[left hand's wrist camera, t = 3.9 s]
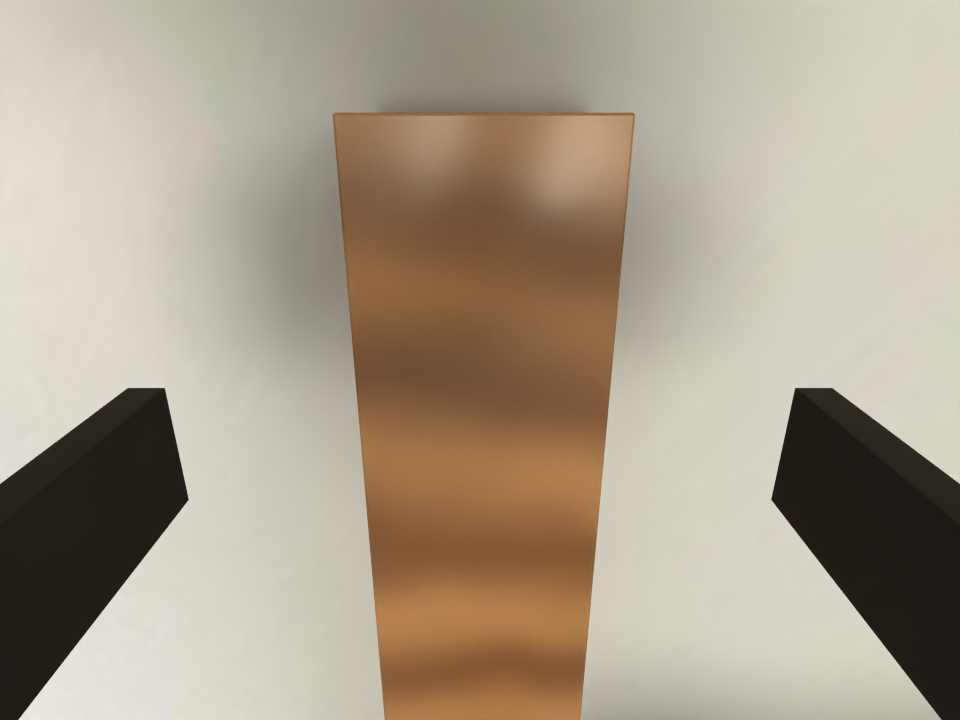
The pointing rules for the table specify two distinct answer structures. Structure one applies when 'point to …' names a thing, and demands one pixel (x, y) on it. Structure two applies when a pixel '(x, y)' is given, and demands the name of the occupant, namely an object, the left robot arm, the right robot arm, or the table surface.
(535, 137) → the wooden grain beam
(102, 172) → the table surface
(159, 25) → the table surface
